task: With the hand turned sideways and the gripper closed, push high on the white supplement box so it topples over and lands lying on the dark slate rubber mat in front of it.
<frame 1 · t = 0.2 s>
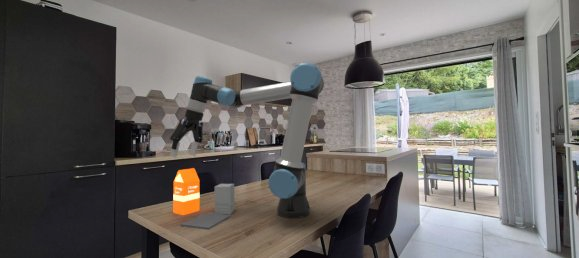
hand: (183, 155, 112), 27 cm above the table, tool tilted 15°, fingers open, 13 cm apart
orange juice: (186, 212, 117), on the table
supplement box: (224, 212, 116), on the table
mat: (207, 220, 103), on the table
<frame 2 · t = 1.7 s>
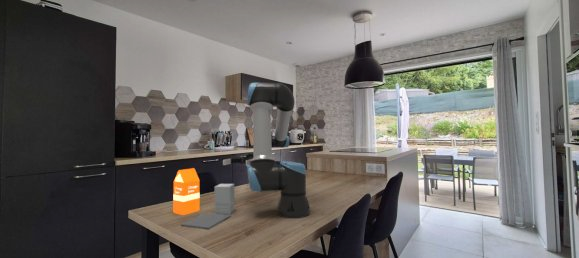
hand: (234, 162, 125), 22 cm above the table, tool horizontal, fingers open, 12 cm apart
nothing on the table moved.
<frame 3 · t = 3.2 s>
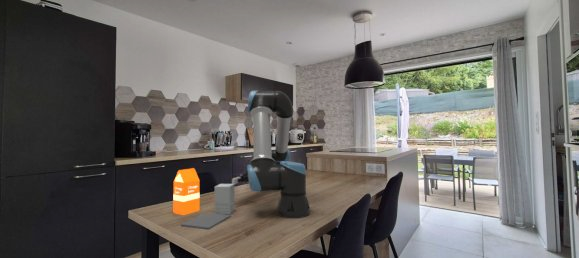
hand: (233, 181, 124), 13 cm above the table, tool horizontal, fingers closed
nothing on the table moved.
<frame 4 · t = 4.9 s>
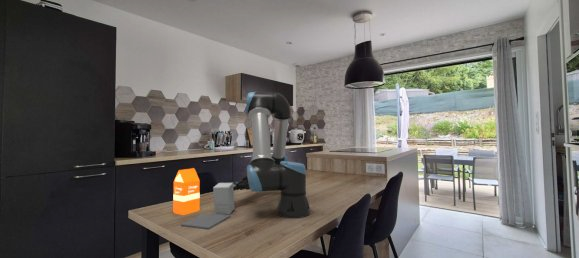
hand: (227, 189, 119), 10 cm above the table, tool horizontal, fingers closed
supplement box: (224, 211, 116), on the table, touching gripper
everything else where it was.
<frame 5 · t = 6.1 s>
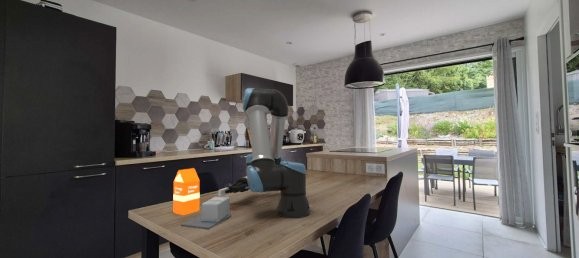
hand: (219, 193, 113), 9 cm above the table, tool horizontal, fingers closed
supplement box: (222, 204, 113), point 4 cm above the table, touching mat
everything else where it was.
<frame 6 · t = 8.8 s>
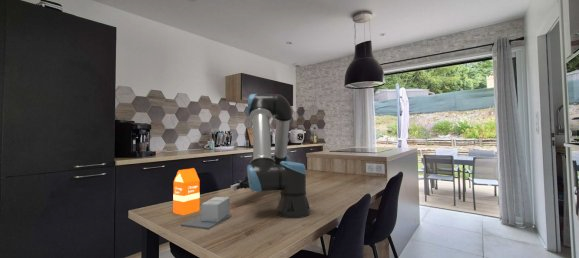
hand: (232, 188, 122), 10 cm above the table, tool horizontal, fingers closed
nothing on the table moved.
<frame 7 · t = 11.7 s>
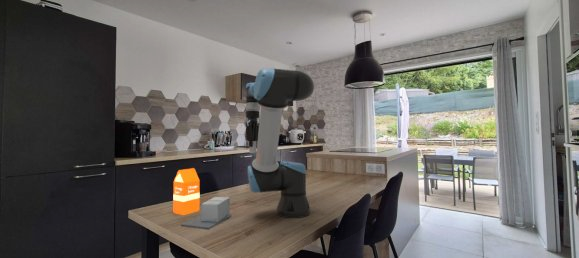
hand: (252, 152, 138), 26 cm above the table, tool pointing down, fingers open, 2 cm apart
nothing on the table moved.
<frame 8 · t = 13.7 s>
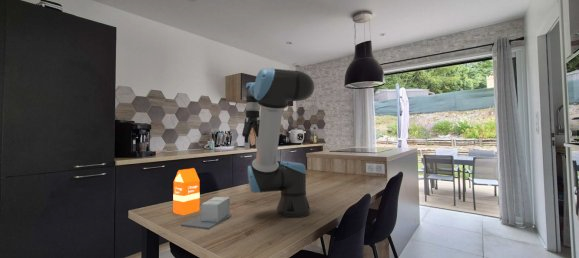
hand: (252, 148, 138), 29 cm above the table, tool pointing down, fingers open, 13 cm apart
nothing on the table moved.
at the end: supplement box tilted 90°; supplement box touching mat; orange juice moved 0.2 cm from its start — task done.
